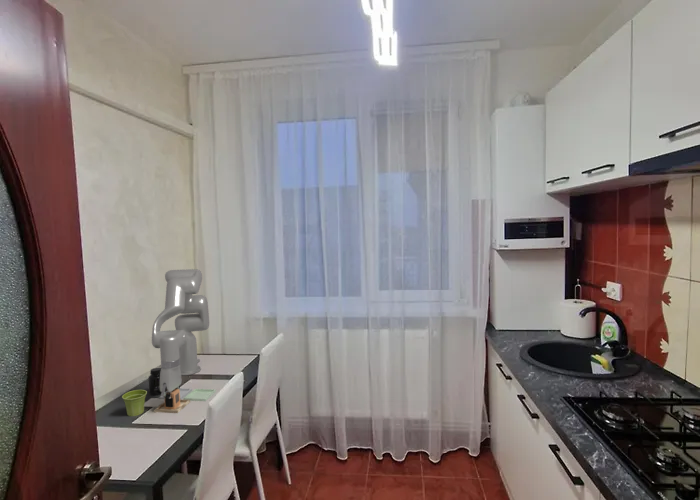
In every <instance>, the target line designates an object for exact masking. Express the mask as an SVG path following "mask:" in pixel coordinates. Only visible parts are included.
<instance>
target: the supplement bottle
mask: <svg viewBox="0 0 700 500" xmlns="http://www.w3.org/2000/svg"><path fill="white" fill-rule="evenodd" d="M149 372H150V375H148V379H147V380H148V381H147V382H148V395H149V396H151V397H156V396H158V397H159V396H161V393H162V392H160V372H161V367H154V368H151V369H150V371H149Z"/></svg>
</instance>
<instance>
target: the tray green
mask: <svg viewBox="0 0 700 500" xmlns="http://www.w3.org/2000/svg"><path fill="white" fill-rule="evenodd" d="M216 392H217V389H215V388H213V389H212V388H194V389H192V391H191V392H190V393H189V394H188V395H186V396H185V397H184V398H183V399H182V400H190V402H192V401H193V402H206V401H207V400H209V399H210V398H211V397H212V396H213V395H214V394H215V393H216Z"/></svg>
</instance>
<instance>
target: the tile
mask: <svg viewBox="0 0 700 500" xmlns="http://www.w3.org/2000/svg"><path fill="white" fill-rule="evenodd" d="M164 402H165V399H159V397H158V398H155V397H151V398H149V399H148V400H147V401H145V403H144V408H146V407H149V408H151V407H152V408H157V407H158V406H160V405H161V404H162V403H164Z"/></svg>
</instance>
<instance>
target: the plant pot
mask: <svg viewBox="0 0 700 500" xmlns="http://www.w3.org/2000/svg"><path fill="white" fill-rule="evenodd" d="M147 395H148V391H147V390H145V389H134V390H131V391H128V392H125V393H124V394H122V396H121V398H122V400H123V402H124V405H125V410H126V414H127V416H129V417H136V416H139V415H142V414H143V413H144V412H145V406H144V403H145V402H146V397H147Z"/></svg>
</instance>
